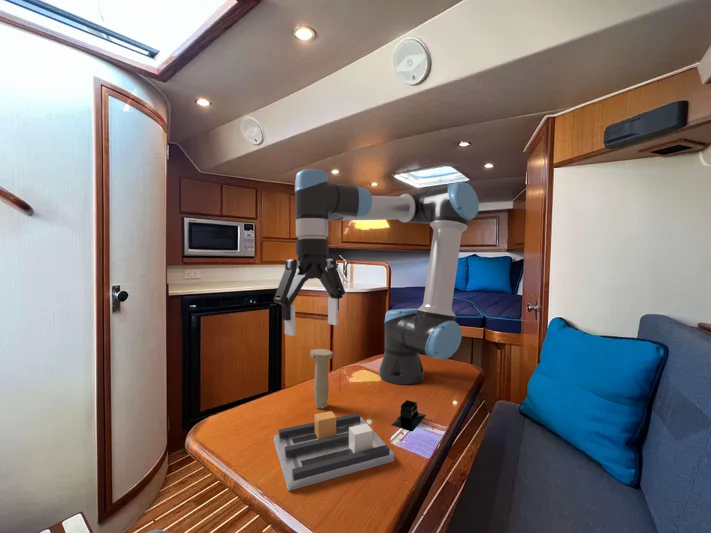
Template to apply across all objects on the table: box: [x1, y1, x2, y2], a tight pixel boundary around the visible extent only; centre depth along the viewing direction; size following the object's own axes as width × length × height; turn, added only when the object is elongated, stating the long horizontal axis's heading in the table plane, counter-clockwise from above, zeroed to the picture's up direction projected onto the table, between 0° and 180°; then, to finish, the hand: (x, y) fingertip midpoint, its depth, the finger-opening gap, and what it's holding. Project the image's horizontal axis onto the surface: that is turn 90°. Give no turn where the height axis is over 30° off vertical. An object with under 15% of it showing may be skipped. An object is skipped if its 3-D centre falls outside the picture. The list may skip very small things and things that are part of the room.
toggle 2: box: [349, 422, 374, 453], centre depth 65 cm, size 4×3×4 cm
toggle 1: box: [314, 410, 337, 439], centre depth 70 cm, size 4×3×4 cm
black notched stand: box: [391, 399, 427, 433], centre depth 80 cm, size 12×7×5 cm, turn 148°
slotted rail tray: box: [278, 413, 391, 480], centre depth 66 cm, size 19×16×1 cm
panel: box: [273, 416, 395, 492], centre depth 66 cm, size 21×16×2 cm
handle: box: [309, 348, 334, 410], centre depth 86 cm, size 5×6×15 cm
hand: (313, 329), depth 75 cm, fingers open, 13 cm apart
